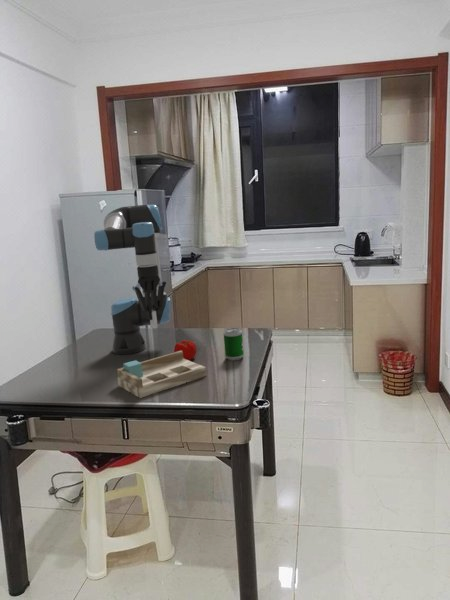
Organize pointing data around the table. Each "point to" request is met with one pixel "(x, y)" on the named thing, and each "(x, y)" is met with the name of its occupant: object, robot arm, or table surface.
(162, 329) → the table surface
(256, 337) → the table surface
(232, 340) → the soda can
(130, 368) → the teal block
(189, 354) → the tomato
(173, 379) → the board
